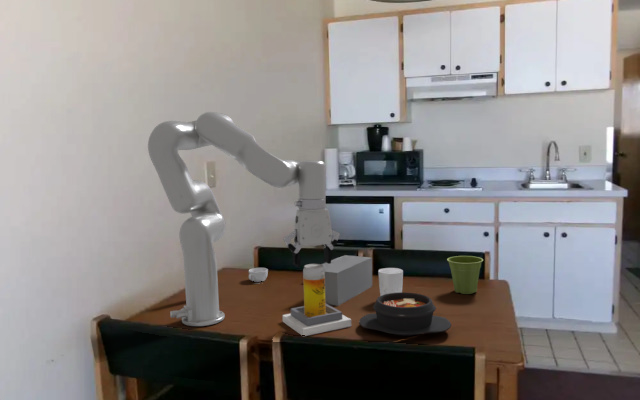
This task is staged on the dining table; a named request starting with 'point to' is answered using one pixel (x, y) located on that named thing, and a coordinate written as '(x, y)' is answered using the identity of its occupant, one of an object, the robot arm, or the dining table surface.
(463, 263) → the plant pot
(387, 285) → the white cup
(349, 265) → the grey rectangular block
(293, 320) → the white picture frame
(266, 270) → the teacup
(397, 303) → the casserole
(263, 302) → the dining table surface
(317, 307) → the beer can
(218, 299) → the robot arm
